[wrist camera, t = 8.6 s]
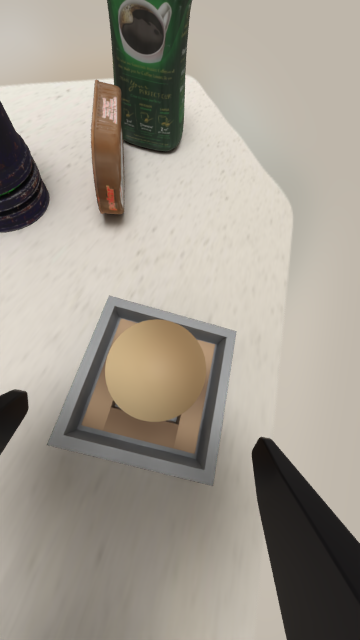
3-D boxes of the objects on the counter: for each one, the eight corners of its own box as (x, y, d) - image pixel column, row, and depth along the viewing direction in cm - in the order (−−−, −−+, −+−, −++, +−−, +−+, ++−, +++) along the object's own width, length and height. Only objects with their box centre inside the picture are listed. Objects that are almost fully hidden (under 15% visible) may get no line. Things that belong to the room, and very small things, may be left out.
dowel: (138, 412, 19) (119, 439, 7) (127, 368, 20) (94, 334, 9) (181, 396, 20) (220, 399, 8) (167, 355, 21) (187, 309, 9)
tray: (201, 470, 18) (213, 486, 15) (65, 436, 18) (46, 445, 15) (223, 340, 23) (236, 331, 19) (115, 310, 22) (109, 295, 19)
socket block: (190, 448, 18) (194, 453, 16) (88, 422, 18) (81, 425, 16) (209, 349, 21) (215, 344, 20) (123, 325, 21) (120, 318, 19)
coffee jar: (184, 128, 34) (221, -146, 17) (176, 159, 31) (209, -131, 14) (125, 112, 34) (100, -191, 16) (111, 142, 31) (62, -184, 13)
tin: (105, 146, 30) (90, 59, 23) (127, 148, 31) (120, 64, 23) (102, 230, 25) (81, 156, 18) (128, 231, 26) (119, 159, 18)
